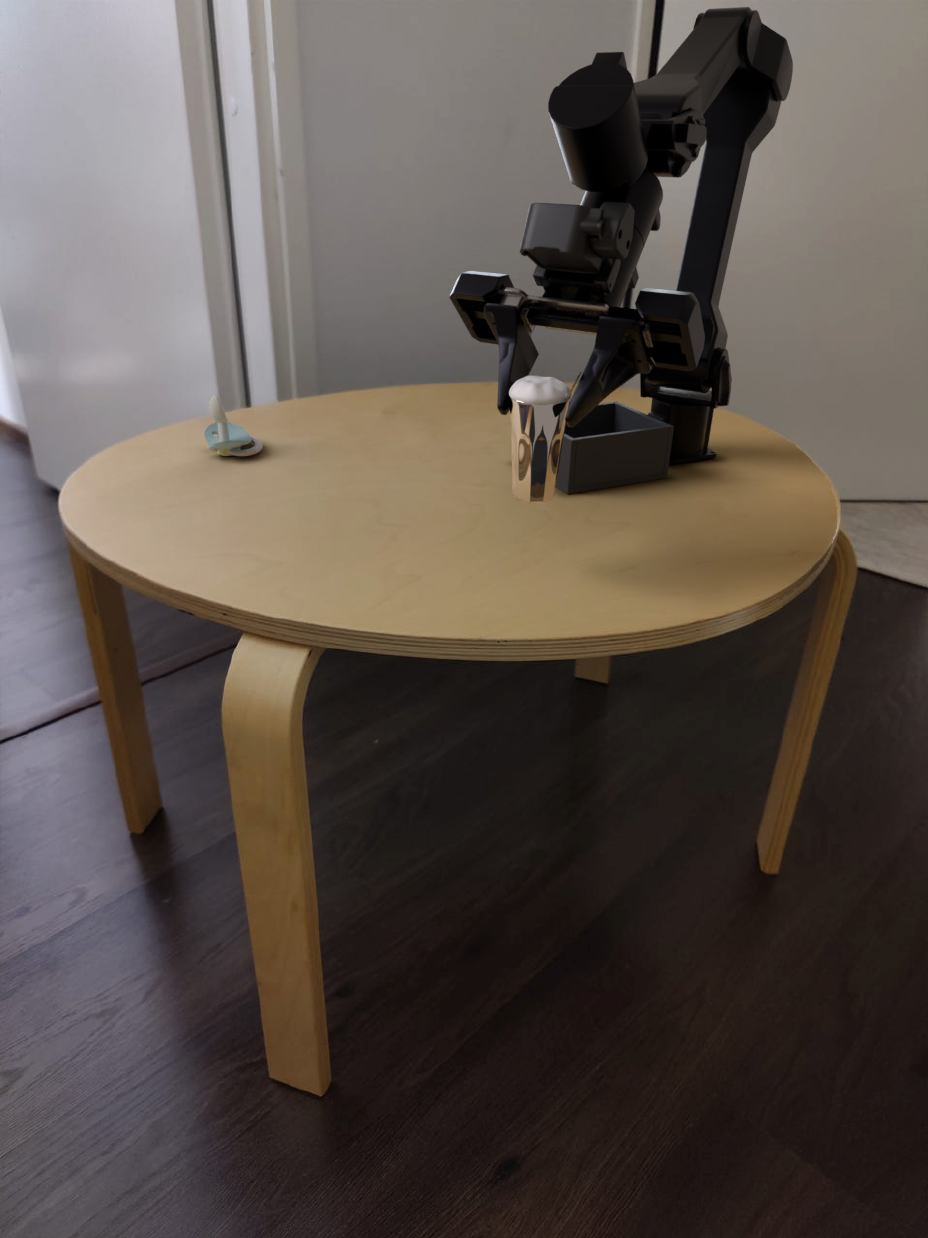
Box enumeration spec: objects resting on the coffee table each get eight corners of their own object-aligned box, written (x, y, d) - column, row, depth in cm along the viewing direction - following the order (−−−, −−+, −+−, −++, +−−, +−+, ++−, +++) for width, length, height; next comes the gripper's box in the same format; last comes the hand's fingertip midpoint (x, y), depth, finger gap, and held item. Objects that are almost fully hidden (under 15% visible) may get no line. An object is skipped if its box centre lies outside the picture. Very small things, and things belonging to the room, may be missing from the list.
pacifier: (258, 440, 99) (204, 443, 97) (254, 385, 96) (198, 387, 94) (267, 460, 93) (210, 463, 91) (263, 402, 90) (204, 404, 88)
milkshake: (555, 514, 64) (566, 378, 59) (493, 498, 66) (498, 367, 61) (582, 495, 67) (594, 365, 62) (522, 481, 70) (528, 355, 65)
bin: (611, 449, 98) (616, 401, 95) (667, 477, 90) (674, 426, 87) (517, 463, 93) (520, 412, 91) (567, 494, 85) (571, 440, 83)
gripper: (463, 151, 62) (380, 335, 59) (719, 158, 54) (636, 372, 51) (510, 256, 72) (440, 419, 69) (732, 276, 64) (664, 461, 61)
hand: (534, 417), depth 62 cm, fingers closed on milkshake, 5 cm apart
